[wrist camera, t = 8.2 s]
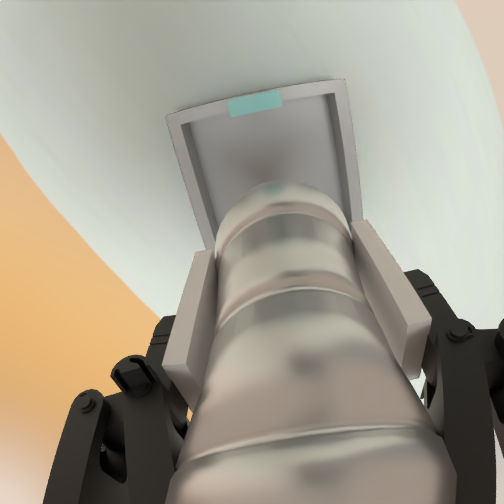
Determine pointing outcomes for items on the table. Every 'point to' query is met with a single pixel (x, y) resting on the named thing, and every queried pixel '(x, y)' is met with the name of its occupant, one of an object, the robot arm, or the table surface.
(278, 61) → the table surface
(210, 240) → the tray
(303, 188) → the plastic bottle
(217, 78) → the table surface
